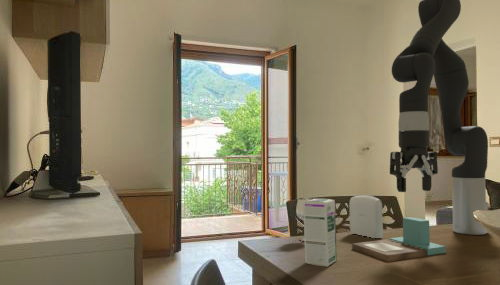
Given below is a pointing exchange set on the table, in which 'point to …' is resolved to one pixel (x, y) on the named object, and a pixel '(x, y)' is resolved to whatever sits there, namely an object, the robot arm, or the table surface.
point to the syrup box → (320, 232)
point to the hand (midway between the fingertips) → (414, 191)
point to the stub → (419, 236)
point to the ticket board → (389, 250)
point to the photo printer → (366, 216)
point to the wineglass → (301, 207)
